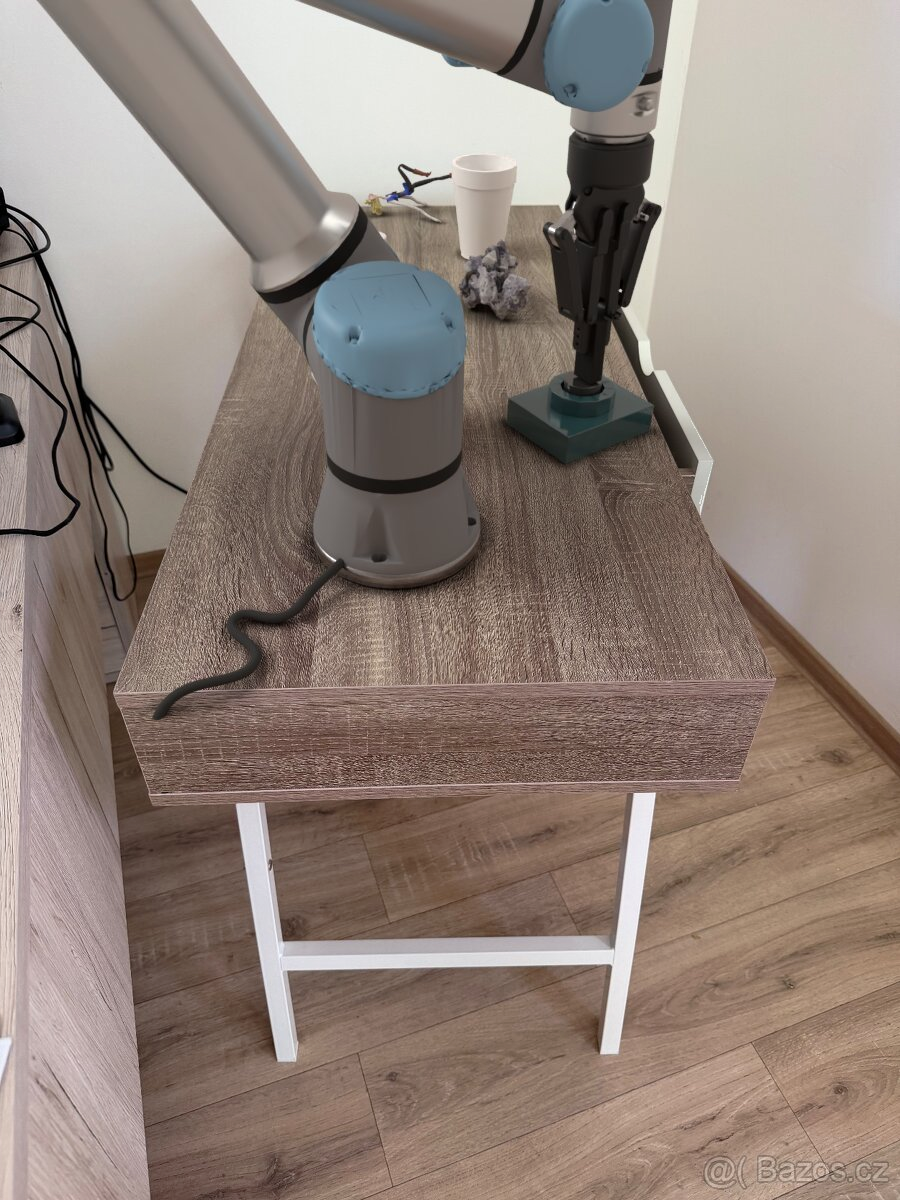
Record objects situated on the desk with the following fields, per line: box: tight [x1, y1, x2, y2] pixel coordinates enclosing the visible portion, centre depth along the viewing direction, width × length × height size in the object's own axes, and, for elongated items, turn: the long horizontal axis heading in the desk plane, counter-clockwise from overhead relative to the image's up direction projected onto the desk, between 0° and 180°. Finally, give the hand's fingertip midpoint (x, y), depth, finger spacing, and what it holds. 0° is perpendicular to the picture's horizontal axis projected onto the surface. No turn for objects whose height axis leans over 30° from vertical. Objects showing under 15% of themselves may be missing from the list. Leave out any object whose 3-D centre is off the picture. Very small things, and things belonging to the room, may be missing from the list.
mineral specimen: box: [457, 239, 533, 321], centre depth 122 cm, size 12×9×10 cm
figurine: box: [363, 163, 452, 223], centre depth 153 cm, size 10×9×20 cm
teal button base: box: [506, 370, 655, 465], centre depth 99 cm, size 12×10×5 cm
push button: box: [563, 370, 602, 397], centre depth 97 cm, size 4×4×2 cm
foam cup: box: [451, 152, 518, 260], centre depth 135 cm, size 10×9×13 cm
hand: (587, 377), depth 96 cm, fingers closed
